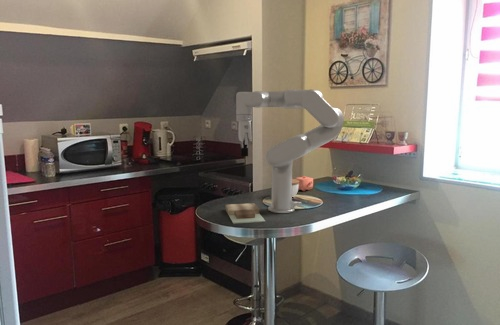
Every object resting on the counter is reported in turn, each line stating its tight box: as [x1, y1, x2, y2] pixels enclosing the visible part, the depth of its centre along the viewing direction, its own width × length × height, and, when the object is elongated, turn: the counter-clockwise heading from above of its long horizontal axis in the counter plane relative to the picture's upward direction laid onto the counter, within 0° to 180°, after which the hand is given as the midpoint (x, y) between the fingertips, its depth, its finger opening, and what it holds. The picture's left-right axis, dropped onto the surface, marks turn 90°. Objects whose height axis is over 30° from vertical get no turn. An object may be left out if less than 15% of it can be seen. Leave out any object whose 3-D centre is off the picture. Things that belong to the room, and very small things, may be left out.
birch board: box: [225, 202, 260, 216], centre depth 199 cm, size 14×11×2 cm
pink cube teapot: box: [294, 175, 314, 192], centre depth 245 cm, size 8×12×8 cm, turn 34°
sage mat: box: [228, 213, 266, 225], centre depth 188 cm, size 14×12×1 cm
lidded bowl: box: [292, 178, 299, 197], centre depth 228 cm, size 13×13×11 cm
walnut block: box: [235, 210, 255, 219], centre depth 190 cm, size 8×7×2 cm
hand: (244, 156), depth 205 cm, fingers closed
